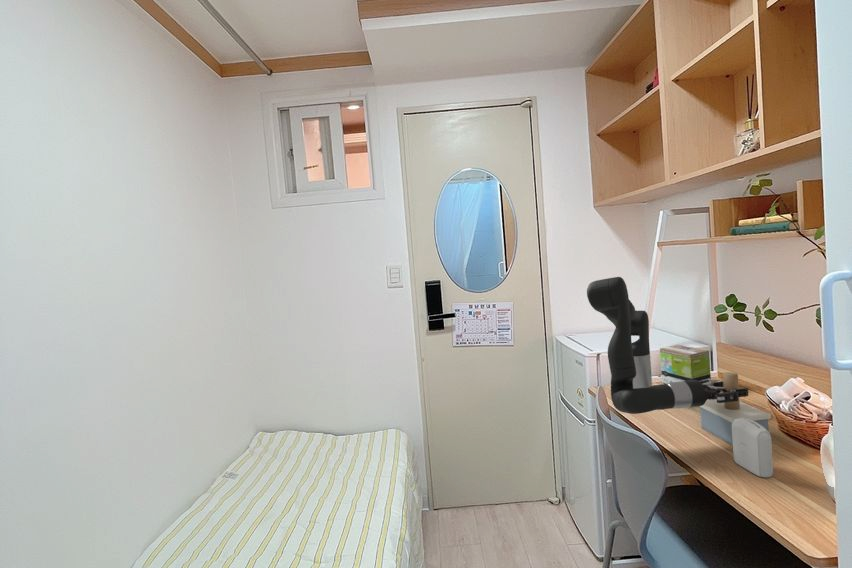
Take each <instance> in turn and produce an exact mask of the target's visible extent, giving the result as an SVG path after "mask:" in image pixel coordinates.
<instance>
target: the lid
mask: <svg viewBox="0 0 852 568" xmlns="http://www.w3.org/2000/svg"><path fill="white" fill-rule="evenodd" d="M722 381H723V387H725V388H726V389H740V388H739V374H738V373H737V372H731V371H730V372H728V371H727V372H723V373H722ZM738 400H739V401H734V402H725V403H717V400H708V399H707V400H706V402H705V404H704V405H702V406H698V407H699V408H700V407H701V408H703V409H705V410H707V411H710V412H712V413H714V414H716V415H718V416H720V417H722V418H724V419H726V420H728V421H730V422H732V423H733V421H734V420H735V419H740V418H745V419H749V420H752V421H755V420H763V419H768V420H769V419H772V415H771V413H769V412H766V411H764V410H762V409H759V408H756V407H755V406H752V405H749V404H747V403H746V402H745V403H744V402H743V401H741V400H740V397H738Z"/></svg>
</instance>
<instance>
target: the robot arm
mask: <svg viewBox="0 0 852 568" xmlns="http://www.w3.org/2000/svg"><path fill="white" fill-rule="evenodd" d="M586 297H587V300H588V303H589V304H590V306H591V307H592V309H593V310H595V312H598V313H600V314H602V315H604V316H605V317H606V319H608V320H609V322H610V323H612V324H613V325H614V327H615V329H614V331H613V333H612V336H611V338H610V340H609V343H608V346H607V359H608V364H609V365H608V366H609V371H610V375H611V377H610V400H611V402H612V405H613V406H614V408H615V409H616V410H617V411H619V412H620V413H626V414H630V415H639V414H644V413H649V412H652V411H661V410H670V409H686V408H695V407H696V408H697V407H699V406H702V405H704V404H705V402H706V401H708V400H717V403H725V402H734V401H740V399H739V400H738V397H739V398H743V397H744V398H745V397H749V389H748V388H746V387H744V388H743V387H742V388H739V389H726V388H725V387H723V380H721V382H716V381H713V380H711V382H709V380H703V381H698V380H688V381H679V382H672V383H668V384H665V383H661V384H654V385H653V381H652V378H653V375H652V362H651V352H650V351H651V350H650V349H651V348H650V321H649V315H648V312H646V311H645V310H636V308H635V305H634V304H633V303H632V301H631V300H630V298H629V291H628V288H627V284H626V282H625V279H624V278H623V277H621V276H615V277H614V276H613V277H608V278H603V279H597V280H594V281H591V282H590V283H589V284H588V286H587V288H586ZM632 336H634V337H637V336H638V337H639V338H638V339H637V340H635V341H633V342H632ZM715 382H716V383H715ZM721 390H722V391H723V393H721Z"/></svg>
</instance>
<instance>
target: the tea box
mask: <svg viewBox="0 0 852 568" xmlns="http://www.w3.org/2000/svg"><path fill="white" fill-rule="evenodd" d="M659 353H660V368H661V369H660V370H661V380H662V381H661V384H668V383H672V382H679V381H688V380H698V381H703V380H709V382H711V381H712V379H711V376H712V375H711V361H710V350H708V349H702V348H697V347H692V346H687V345H683V344H675V345H670V346H666V347H661V348H659Z"/></svg>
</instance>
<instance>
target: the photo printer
mask: <svg viewBox="0 0 852 568" xmlns="http://www.w3.org/2000/svg"><path fill="white" fill-rule="evenodd" d="M732 441H733V446H732V452H733V455H732V456H733V461H734V463H736V464H737V465H738V466H740V467H742V468H744V469H745V470H747V471H748V472H750V473H752V474H754V475H755V476H758V477H760V478H770V477H772V476H773V475H774V463H773V461H774V460H773V448H772V444H773V443H772V435H771V433H770V432H768V431H767V430H766V429H765V428H764V427H763V426H761V425H760V424H758V423H756V422H754V421H752V420H749V419H745V418H740V419H735V420H734V421H733V423H732Z"/></svg>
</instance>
